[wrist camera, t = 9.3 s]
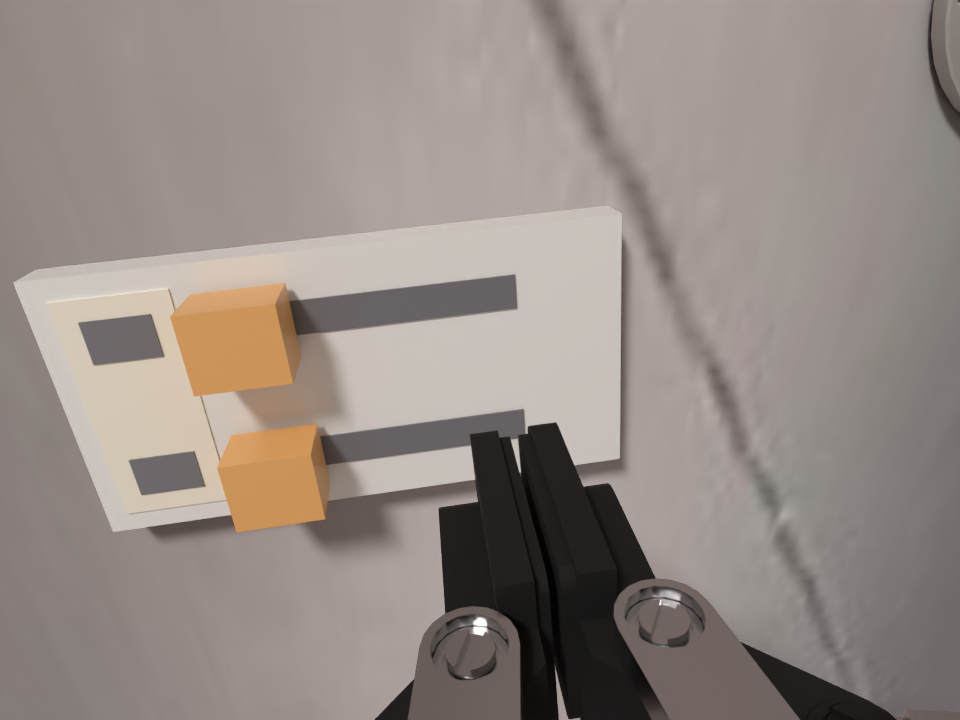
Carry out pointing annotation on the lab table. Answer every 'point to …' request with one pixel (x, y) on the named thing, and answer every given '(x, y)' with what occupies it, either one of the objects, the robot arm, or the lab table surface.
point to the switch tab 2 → (275, 477)
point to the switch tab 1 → (237, 339)
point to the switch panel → (344, 355)
